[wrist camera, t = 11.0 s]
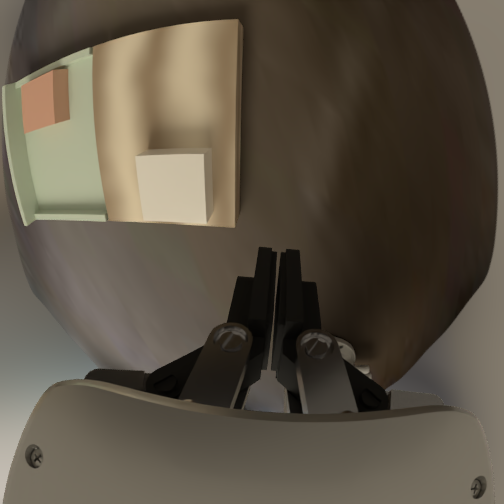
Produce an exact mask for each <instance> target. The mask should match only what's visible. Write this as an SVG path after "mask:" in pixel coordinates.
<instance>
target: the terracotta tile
mask: <svg viewBox="0 0 504 504" xmlns="http://www.w3.org/2000/svg"><path fill="white" fill-rule="evenodd" d="M21 98H22V116H23V128H24V134H26V133H28V132H31V131H34V130H37V129H40V128H43V127H46V126H49V125H53V124H56V123H59V122H63V121H66V120H70V112H69V91H68V69H59V70H52V71H50V72H47V73H45V74H43V75H41V76H39V77H37V78H35V79H33V80H31V81H30V82H28V83H26V84H24V85H22V86H21Z"/></svg>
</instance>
